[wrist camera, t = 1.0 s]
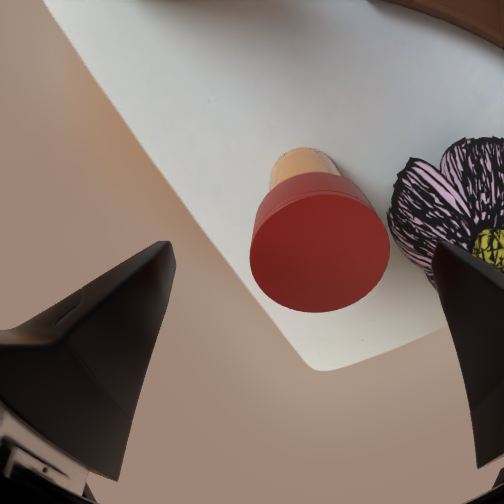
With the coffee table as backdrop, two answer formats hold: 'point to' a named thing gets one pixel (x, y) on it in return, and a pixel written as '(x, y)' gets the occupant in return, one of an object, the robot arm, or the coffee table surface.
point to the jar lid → (317, 243)
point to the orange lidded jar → (301, 165)
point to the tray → (465, 15)
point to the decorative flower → (452, 204)
